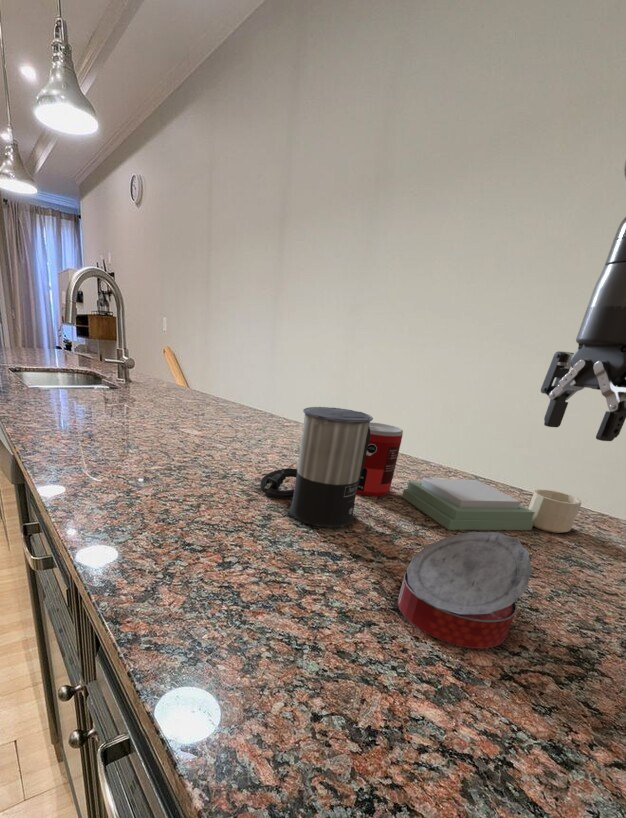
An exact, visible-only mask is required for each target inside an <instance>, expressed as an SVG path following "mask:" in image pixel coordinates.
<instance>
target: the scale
mask: <svg viewBox="0 0 626 818" xmlns="http://www.w3.org/2000/svg"><path fill="white" fill-rule="evenodd" d="M401 495H402V496H401V498H403V499H404V500H406V501H407V502H408V503H409V504H411V505H413V506H414V507H416V508H417V509H418V510H419V511H421V512H422V513H424V514H425V515H426V516H428V517H429V518H431V519H432V520H434V521H435V522H437V523H438V524H440V525H441V526H443V528H445V529H446V530H448V531H449V530H451V531H452V530H453V531H454V530H456V531H457V530H458V531H462V530H463V531H465V530H466V531H469V530H470V531H471V530H472V531H475V530H476V531H532V529H533V527H534V526H533V524H534V521H533V520H532V517H533V515H534V512H533V511H531V510H529V509H528V508H527V507H525V506H523V505H521V504H520V505H519V508H518V509H492V508H458V507H456V506H455V505H453V504H451V503H450V502H448V501H447V500H445V499H443V498H442V497H440V496H438V495H437V494H435V493H433V492H432V491H430V490H429V489H427V488H425V487H424V486H422V481H419V480H418V481H417V480H416V481H415V480H409V481H408V484H407V487H406V488H403V492H402V494H401Z"/></svg>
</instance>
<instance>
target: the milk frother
mask: <svg viewBox="0 0 626 818" xmlns="http://www.w3.org/2000/svg"><path fill="white" fill-rule="evenodd" d="M302 412H303V413H304V417H303V424H302V432H301V433H302V434H301V439H300V446H299V447H300V448H299V455H298V462H297V468H292V467H289V468H287V467H286V468H280V469H276V470H273V471H271V472H268V473H266V474H265V475H264V476H263V477H262V478H261V479H260V482H259V487H260V489H261V491H262V492H263V493H265V494H266V495H267V496H270V497H273V498H277V499H290V498H292V500H291V505H290V507H289V508H288V511H289V514H290V515H291V517H293V518H294V519H295V520H297V521H299V522H301V523H303V524H306V525H310V526H313V527H317V528H318V527H320V528H325V529H340V528H344V527H348V526H350V525H351V524H352V523H353V522H354V511H355V501H356V495H357V494H356V491H357V488H358V486H359V482H360V478H361V474H362V470H363V466H364V461H365V457H366V453H367V449H368V445H369V441H370V427H369V423H370V422H372V421H373V419H374V417H373V416H372V415H370V414H368V413H366V412H363V411H359V410H358V411H357V410H352V409H348V408H347V409H346V408H341V407H328V406H311V407H306V408H303V409H302ZM286 478H295V484H294V488H293V489H288V490H279V488H280V487H281V486H282V484H283V483H284V481H285V480H286Z"/></svg>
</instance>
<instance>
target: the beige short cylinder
mask: <svg viewBox="0 0 626 818" xmlns="http://www.w3.org/2000/svg"><path fill="white" fill-rule="evenodd" d="M581 505H582V500H581V499H579V498H578V497H576V496H573V495H571V494H568V493H564V492H561V491H556V490H551V489H535V490H534V491H533V494H532V496H531V499H530V502H529V505H528V508H527V509H529V510H531V511H533V512H534V515H533V517H532V520H533V521H534V524H533V527H534V528H536V529H539V530H542V531H546V532H550V533H557V534H562V533H568V532H570V531H571V529H572V528H573V525H574V523H575V520H576V518H577V515H578V513H579V511H580V508H581Z"/></svg>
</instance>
